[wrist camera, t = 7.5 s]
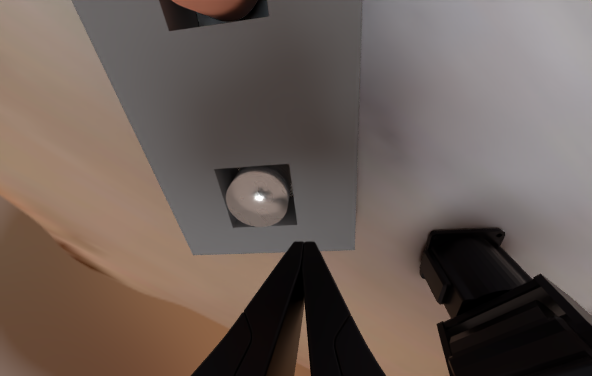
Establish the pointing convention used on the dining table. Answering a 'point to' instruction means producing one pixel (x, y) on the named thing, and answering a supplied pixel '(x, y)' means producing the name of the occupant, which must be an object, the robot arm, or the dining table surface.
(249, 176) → the grey rounded piece
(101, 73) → the dining table surface
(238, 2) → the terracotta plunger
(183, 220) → the press block
